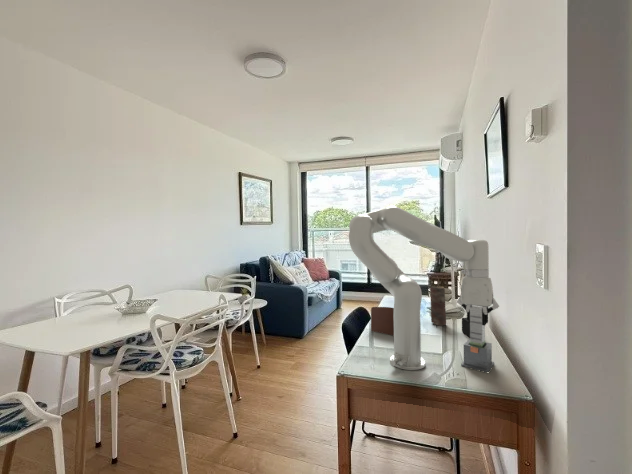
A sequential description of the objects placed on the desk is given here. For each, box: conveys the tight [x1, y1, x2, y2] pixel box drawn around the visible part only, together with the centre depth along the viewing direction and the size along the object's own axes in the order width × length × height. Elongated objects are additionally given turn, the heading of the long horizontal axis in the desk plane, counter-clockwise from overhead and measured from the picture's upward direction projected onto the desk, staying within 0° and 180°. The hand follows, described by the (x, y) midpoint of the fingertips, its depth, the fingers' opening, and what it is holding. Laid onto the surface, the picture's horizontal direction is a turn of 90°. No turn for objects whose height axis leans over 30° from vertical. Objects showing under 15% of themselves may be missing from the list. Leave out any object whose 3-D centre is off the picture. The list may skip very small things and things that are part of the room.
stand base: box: [460, 338, 495, 373], centre depth 116 cm, size 9×9×8 cm
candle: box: [429, 286, 447, 327], centre depth 166 cm, size 8×7×20 cm
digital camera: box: [461, 317, 470, 338], centre depth 149 cm, size 10×5×7 cm, turn 179°
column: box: [469, 305, 487, 348], centre depth 116 cm, size 4×4×14 cm
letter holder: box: [370, 306, 394, 337], centre depth 152 cm, size 10×20×14 cm, turn 57°
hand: (477, 322), depth 116 cm, fingers closed on column, 4 cm apart
